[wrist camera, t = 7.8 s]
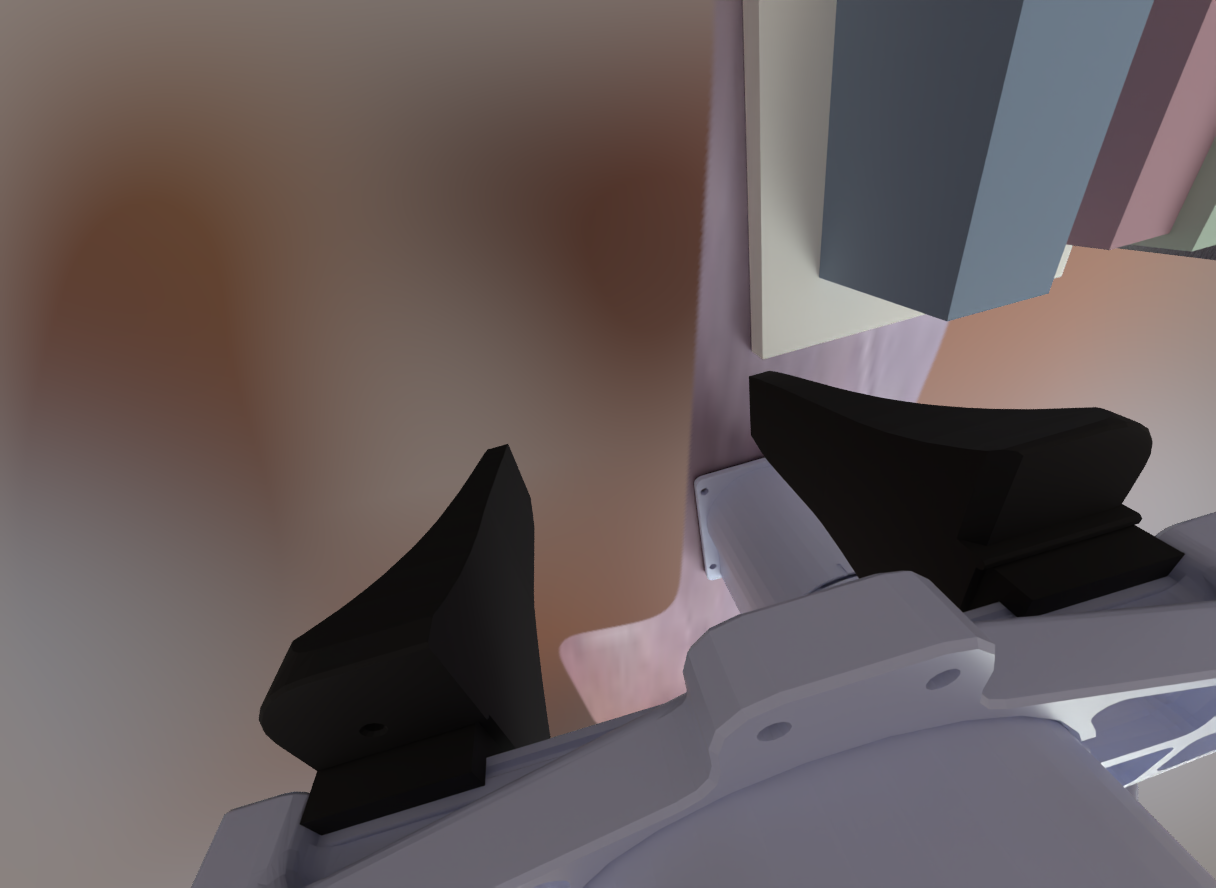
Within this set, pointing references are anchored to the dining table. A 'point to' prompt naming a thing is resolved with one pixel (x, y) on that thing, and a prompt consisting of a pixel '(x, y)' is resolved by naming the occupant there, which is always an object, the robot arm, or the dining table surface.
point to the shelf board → (796, 182)
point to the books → (1159, 141)
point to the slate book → (966, 143)
